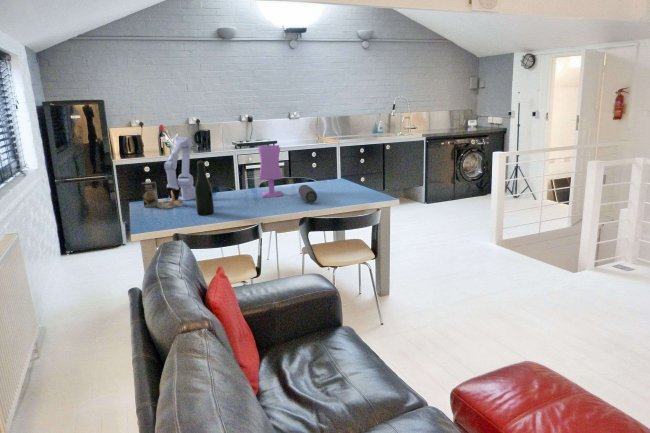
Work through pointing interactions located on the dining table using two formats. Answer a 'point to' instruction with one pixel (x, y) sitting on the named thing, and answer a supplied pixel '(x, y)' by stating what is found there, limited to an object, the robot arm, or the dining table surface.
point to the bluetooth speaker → (307, 193)
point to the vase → (270, 168)
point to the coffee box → (149, 194)
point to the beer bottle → (203, 192)
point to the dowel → (173, 197)
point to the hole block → (169, 204)
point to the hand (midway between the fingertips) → (174, 198)
